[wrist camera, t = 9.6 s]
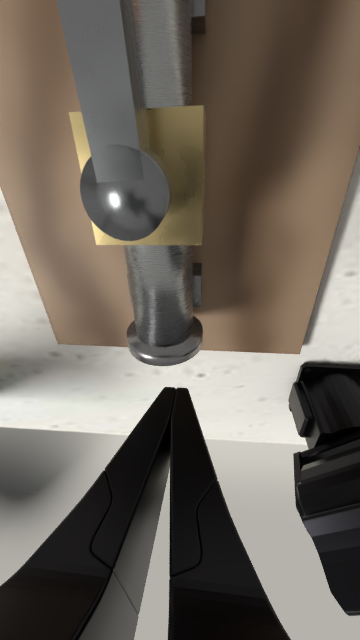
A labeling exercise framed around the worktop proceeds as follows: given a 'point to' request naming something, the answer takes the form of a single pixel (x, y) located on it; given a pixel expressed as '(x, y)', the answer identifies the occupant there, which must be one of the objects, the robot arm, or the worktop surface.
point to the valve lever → (114, 120)
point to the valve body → (187, 181)
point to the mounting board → (220, 169)
